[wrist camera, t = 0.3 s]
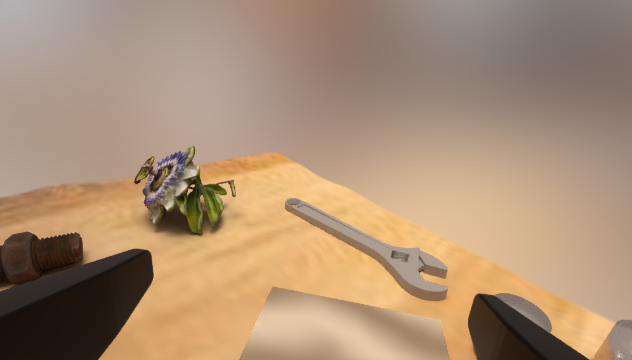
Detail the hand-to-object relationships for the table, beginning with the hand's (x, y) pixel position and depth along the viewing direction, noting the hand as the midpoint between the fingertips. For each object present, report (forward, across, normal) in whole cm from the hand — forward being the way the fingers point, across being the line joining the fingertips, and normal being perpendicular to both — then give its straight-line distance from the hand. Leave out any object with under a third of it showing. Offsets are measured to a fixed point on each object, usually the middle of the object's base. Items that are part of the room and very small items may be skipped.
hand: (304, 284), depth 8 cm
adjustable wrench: (+28, -4, +14) cm, 32 cm away
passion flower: (+30, +20, +14) cm, 38 cm away
